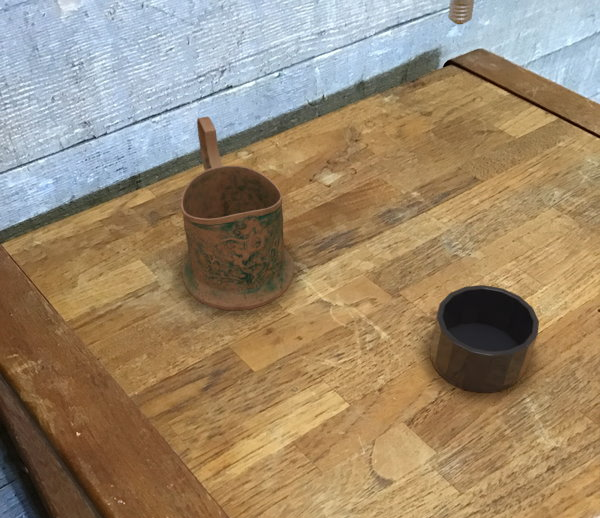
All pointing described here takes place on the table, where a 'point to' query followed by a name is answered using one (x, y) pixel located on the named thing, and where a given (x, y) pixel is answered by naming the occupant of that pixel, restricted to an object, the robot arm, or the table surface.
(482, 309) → the stand
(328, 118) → the table surface
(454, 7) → the lightbulb
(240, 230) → the mug
